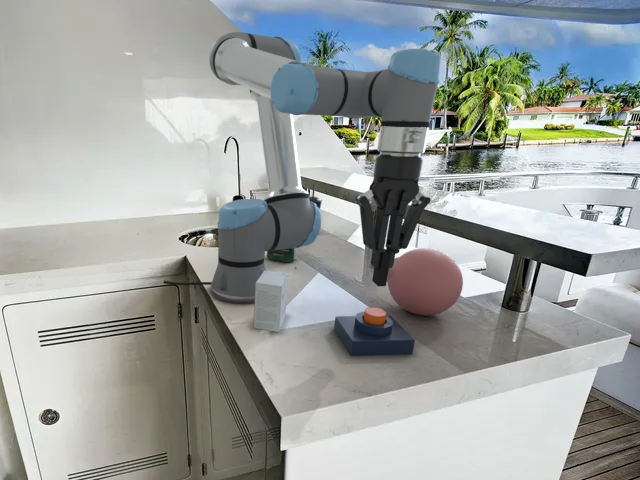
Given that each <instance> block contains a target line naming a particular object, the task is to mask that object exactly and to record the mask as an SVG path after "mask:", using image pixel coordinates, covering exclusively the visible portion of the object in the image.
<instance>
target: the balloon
mask: <svg viewBox="0 0 640 480" xmlns="http://www.w3.org/2000/svg"><path fill="white" fill-rule="evenodd" d="M368 267H369V268H370V269H371V270H374V267H372V266H371V263H369V266H368ZM386 283H387V286H388V290H389V293H390V295H391V297H392V299H393V301H394V302H395V303H396V304H397V306H399V307H400V308H402V309H403V310H405V311H407V312H409V313H410V314H414V315H417V316H434V315H439V314H441V313H443V312H445V311H448V310H449V309H450V308H451V307H452V306H454V304H456V302H457V301H458V300H459V298H460V296H461V294H462V291H463V286H464V278H463V273H462V270H461V268H460V267H459V265H458V263H457V262H456V261H455V260H454V259H453V258H452V257H451V256H450V255H449V254H447V253H445V252H444V251H442V250H439V249H435V248H432V247H431V248H429V247H419V248H414V249H411V250H409V251H406V252H404V253H403V254H402V255H400V256H396V257H395V259H394V265H393V267H392V268H389V270H388V276H387V282H386Z"/></svg>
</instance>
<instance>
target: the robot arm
mask: <svg viewBox="0 0 640 480" xmlns="http://www.w3.org/2000/svg"><path fill="white" fill-rule="evenodd" d="M208 56H209V57H208V58H209V67H210V70H211V72H212V73H213V75H214V76H215V77H216V78H217V79H218V80H219V81H221V82H222V83H225V84H227V85H230V86H242V87H244V88H246V89H248V90H249V93H250V94H249V95H250V98H251V100H253V101H254V102H256V106H257V111H258V119H259V120H258V121H259V128H260V134H261V142H262V151H263V160H264V166H265V173H266V181H267V190H268V193H267V194H266V196H265V198H264V199H261V198H241V199H236V200H231V201H229V202H227V203H224V204H223V205H221V207H220V208H219V211H218V221H217V266H216V267H215V268H216V269H215V272H214V274H213V278H212V280H211V281H191V282H190V281H189V282H184V281H183V282H179V281H172V280H171V281H170V280H163V282H162V283H163V284H168V285H175V286H210V293H211V295H212V296H213V297H214V298H216V299H217V300H220V301H222V302H226V303H231V304H241V305H242V304H253V303H254V304H255V283H256V282H257V280H258V279H259V277H260V276H261V274H262V273H263V271H264V270H265V271H267V269H266V266H265V255H266V252H267V251H272V250H280V249H289V248H297V249H299V248H302V247H307V246H310V245H311V244H313V243H314V242H315V241H316V239H317V238H318V236H319V234H320V231H321V228H322V213H321V208H320V209H319V208H318V207H317V205H316V204H315V203H313V202H311V201H309V197H310V193H309V192H308V191H307V190H305V189H304V188H303V187H302V179H301V171H300V162H299V156H298V148H297V141H296V139H297V138H296V132H295V125H294V116H301V115H303V116H304V115H305V116H327V117H342V118H348V119H355V120H357V119H363V118H381V119H380V121H381V122H380V128H379V135H378V141H377V147H376V151H378V152H379V154H377V156H375V160H374V161H375V163H374V170H373V179H372V182H371V183H370V185H369V188H368V190H367V191H364V192H363V193H361V194H360V193H357V194H356V195H355V198H354V199H355V201H356V202H357V204H358V207H359V212H360V223H361V224H360V225H361V232H362V243H363V245H364V246H365V247H367V248H368V249H370V250H372V252H371V258H370V264H371V266H372V267H374V269H373V271H372V272H373V273H372V278H371V281H372V282H373V283H374V284H375V285H376V286H377V287H387V283H388V282H387V276H388V270H389V268H392V267H393V265H394V259H395V258H396V254H399V253H400V252H401V251H400V250H406V249H407V248H408V247H409V244H410V242H411V239H412V238H413V235H414V234H415V233H414V232H415V230H416V228H417V225H418V223H419V221H420V219H421V217H422V214H423V212H424V210H425V209H426V207H428V205H429V204H430V202H431V198H430V196H426V195H424V194H423V193H422V192H420V185H419V180H420V179H421V175H422V170H423V164H424V158H423V157H422V156H421V154H424V153H425V151H426V148H427V143H428V137H429V131H430V126H431V119H432V118H431V117H432V112H433V108H434V104H435V99H436V95H437V91H438V86H439V83H440V79H439V78H440V71H441V62H442V56H441V54H440V52H439V51H437V50H435V49H431V48H406V49H401V50H397V51H396V52H393V54H391V56H390V59H389V63H388V65H387V69H382V70H375V71H361V70H352V69H343V68H342V69H341V68H333V67H332V68H331V67H325V66H317V65H313V64H309V63H306V62H302V56H301V52H300V49H299V47H298V46H297V44H295V42H294V41H292V40H290V39H287V38H283V37H281V36H268V35H262V34H255V33H250V32H249V33H247V32H243V31H232V32H228V33H225V34H223V35H220V37H219V38H217V39H216V40H215V41H214V43H213V44H212V46H211V48H210V51H209V55H208ZM373 200H374V202H375V204H376V218H375V224H374V217H373V209H372V206H371V204H373ZM410 203H411V204H410ZM408 206H409V208H408V211H407V207H408ZM404 216H405V217H404Z"/></svg>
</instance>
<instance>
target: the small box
mask: <svg viewBox="0 0 640 480" xmlns="http://www.w3.org/2000/svg"><path fill="white" fill-rule="evenodd" d="M288 285H289V273H288V272H280V271H272V270H266V271H265V270H264V271H263V273H262V274H261V276H260V277H259V279H258V280H257V282H256V283H255V302H254V310H253V311H254V312H253V313H254V314H253V329H256V330H263V331H269V332H275V333H279V332H280V330H281V327H282V325H283V322H284V320H285V317H286V312H287V299H288V287H289V286H288Z"/></svg>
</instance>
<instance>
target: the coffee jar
mask: <svg viewBox="0 0 640 480" xmlns="http://www.w3.org/2000/svg"><path fill="white" fill-rule="evenodd" d="M266 258H267V259H269V260H272V261H277V262H283V263H290V262H294V261H296V259H297V258H298V248H289V249H280V250H272V251H266Z"/></svg>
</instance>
